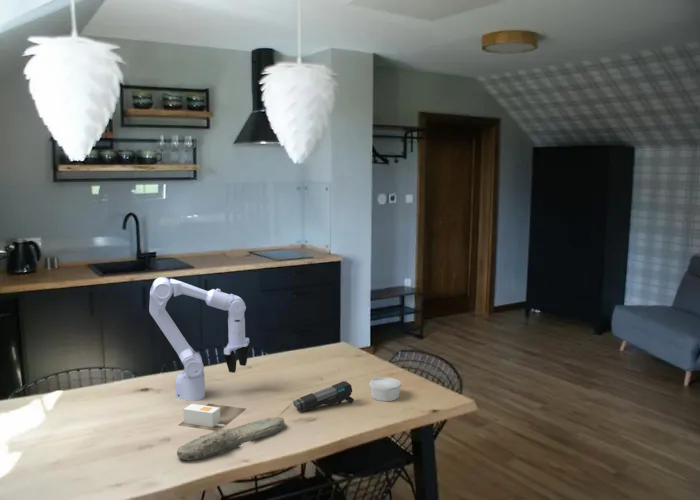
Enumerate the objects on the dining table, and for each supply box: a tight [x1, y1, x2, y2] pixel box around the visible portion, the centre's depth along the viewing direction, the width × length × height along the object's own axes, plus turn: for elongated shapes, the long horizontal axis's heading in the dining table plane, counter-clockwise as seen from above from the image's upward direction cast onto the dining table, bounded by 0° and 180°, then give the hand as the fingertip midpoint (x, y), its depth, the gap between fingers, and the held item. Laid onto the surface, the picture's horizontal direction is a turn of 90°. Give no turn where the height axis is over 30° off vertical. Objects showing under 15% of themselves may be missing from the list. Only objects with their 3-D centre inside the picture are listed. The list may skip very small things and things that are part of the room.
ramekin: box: [368, 377, 402, 402], centre depth 210 cm, size 11×11×5 cm
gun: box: [292, 380, 355, 413], centre depth 201 cm, size 4×20×10 cm, turn 116°
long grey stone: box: [176, 416, 286, 461], centre depth 174 cm, size 35×5×10 cm
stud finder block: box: [183, 403, 220, 427], centre depth 185 cm, size 10×4×5 cm, turn 72°
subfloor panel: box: [178, 403, 247, 432], centre depth 190 cm, size 14×18×1 cm
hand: (237, 368), depth 210 cm, fingers open, 7 cm apart
